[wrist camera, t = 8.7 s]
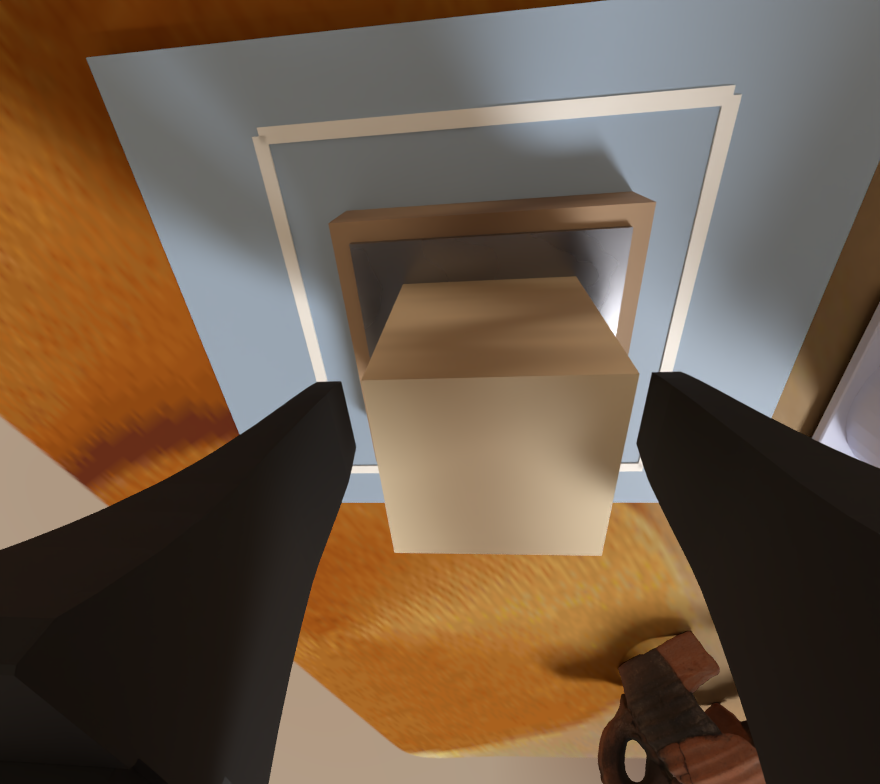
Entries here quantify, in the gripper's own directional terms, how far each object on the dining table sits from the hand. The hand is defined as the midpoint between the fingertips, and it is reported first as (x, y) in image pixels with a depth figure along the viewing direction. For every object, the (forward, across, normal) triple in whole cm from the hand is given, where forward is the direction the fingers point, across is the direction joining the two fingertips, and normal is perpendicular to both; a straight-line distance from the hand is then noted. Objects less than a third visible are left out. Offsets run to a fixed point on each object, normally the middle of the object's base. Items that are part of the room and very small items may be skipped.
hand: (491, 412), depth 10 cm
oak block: (+3, 0, 0) cm, 3 cm away
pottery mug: (+6, -12, +24) cm, 27 cm away
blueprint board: (+5, 0, 0) cm, 5 cm away
